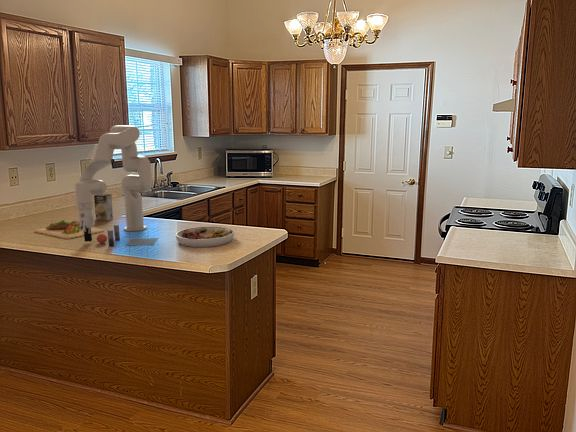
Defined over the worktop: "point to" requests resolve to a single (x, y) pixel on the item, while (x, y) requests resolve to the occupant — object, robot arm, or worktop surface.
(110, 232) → the post
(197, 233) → the bowl
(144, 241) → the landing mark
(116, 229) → the post
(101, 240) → the ball
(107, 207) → the coffee box
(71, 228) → the wooden food tray
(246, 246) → the worktop surface
